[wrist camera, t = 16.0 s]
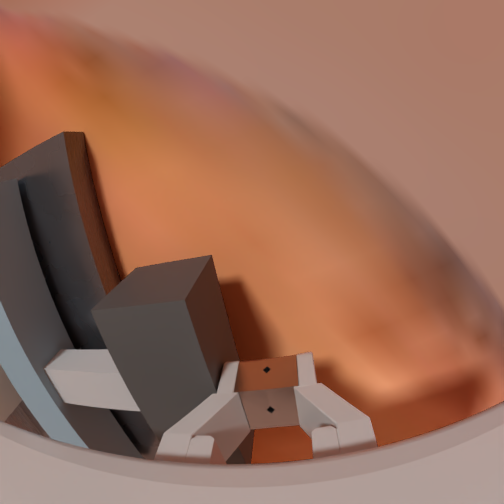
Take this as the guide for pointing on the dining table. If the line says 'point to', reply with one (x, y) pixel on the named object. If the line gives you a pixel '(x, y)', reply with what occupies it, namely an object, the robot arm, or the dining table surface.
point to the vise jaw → (112, 345)
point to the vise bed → (70, 255)
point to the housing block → (7, 396)
